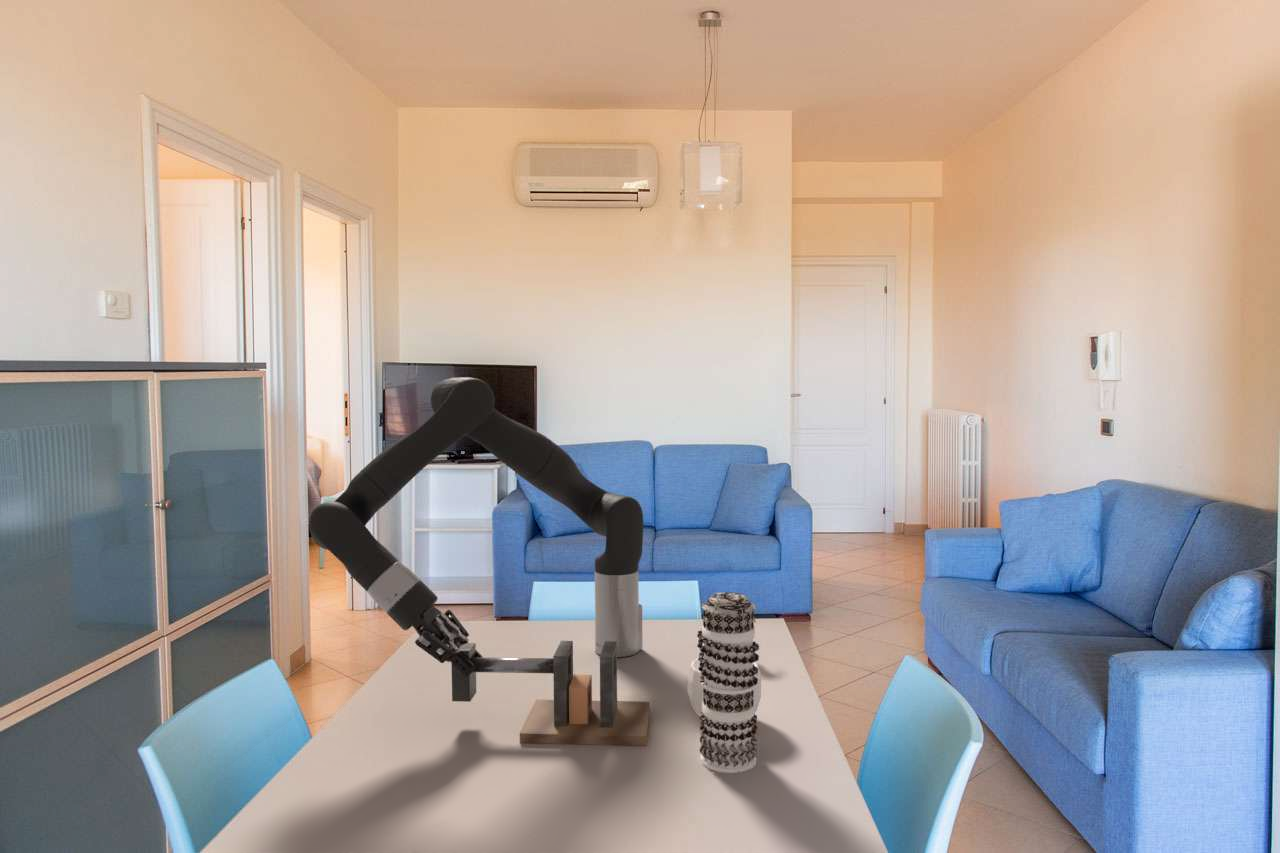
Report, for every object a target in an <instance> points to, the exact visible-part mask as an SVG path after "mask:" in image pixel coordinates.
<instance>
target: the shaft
mask: <svg viewBox="0 0 1280 853" xmlns="http://www.w3.org/2000/svg"><path fill="white" fill-rule="evenodd" d="M456 646H457V647H458V649H459V650H460V652H462V653H463V654H464V655H465V656H466V657H467V658H468V659H469V660H470V661H471V662H472V663H473V664H474V665H475V666H476V668H475V670H474V671H473V672H472V673H471V674H470V675H469V676H467V677H466V676H464V675H463V674H462V673H461V672H460V671H459V670H458V669H457V668H456V667H455V666H454V665H453V664H452V663H451V701H452V702H462V703H463V702H471V701H472V700H473V699H474V697H475V696H476V694H477V673H497V674H498V673H501V674H504V673H508V674H510V673H511V674H512V673H513V674H553V675H554V671H553V658H549V657H547V658H546V657H544V658H543V657H542V658H541V657H540V658H539V657H485V656H484V657H483V656H482V657H476V650H477V648H476V646H477V645H476V642H468V643H458V644H457V645H456ZM460 652H459V653H460Z"/></svg>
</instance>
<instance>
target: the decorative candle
mask: <svg viewBox="0 0 1280 853" xmlns="http://www.w3.org/2000/svg"><path fill="white" fill-rule="evenodd" d="M700 607H701V608H702V626H701V630H698V631H697V633H696V634H697V638H698V639H697V640H698V643H697V647H698V648H699V651H700V652H699V654H698V657H697V658H698V660H699V661H700V666H699V668H698V669H699V671H701V676H700V679H701V680H700V684H701V686H702V687H703V702H702V712H701V715H700V717H699V719H700V721H701V722H700V726H699V729H700V730H701V732H700V736H699V743H700V747H699V752H700V754H701V755H700V762H701V764H702V765H703V766H704V767H706V768H707V769H709V770H711V771H715V772H718V773H720V774H721V773H723V774H739V773H745V772H747V771H750V770H752V769H753V768H754V767H756V764H757V757H756V756H757V755H758V754H757V751H758V748H757V744H758V742H757V741H758V738H757V737H756V735H755V734H756V733H757V730H758V726H757V725H756V724H757V722H758V721H757V720H758V715H757V714H756V712H755V703H754V702H753V695H754V692H753V689H755V688H756V684H757V681H758V679H757V678H756V677H755V676H754V675H755V674H757V673H758V668H757V667H755V666H754V664H753V662H754V663H756V662H758V661H759V658H760V655H759V654H758V653H756V652H757V651H758V650H759V649H760V645H759V643H757V642H756V641H755V640H754V639H755V635H756V634H755V633H756V631H755V630H756V627H755V621H754V618H755V616H754V611H755V610H756V609H757V606H756V605H755V604H754V603H752V602H751V599H750V598H749V597H748V596H746V595H745V594H743V593H739V592H729V591H727V592H726V591H725V592H717V593H714V594H711V595H710V596H709V598H708V599H707V601H705V602H704V603H702V604H701V606H700ZM703 657H704V658H703ZM703 668H704V669H703ZM738 772H739V773H738Z"/></svg>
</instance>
